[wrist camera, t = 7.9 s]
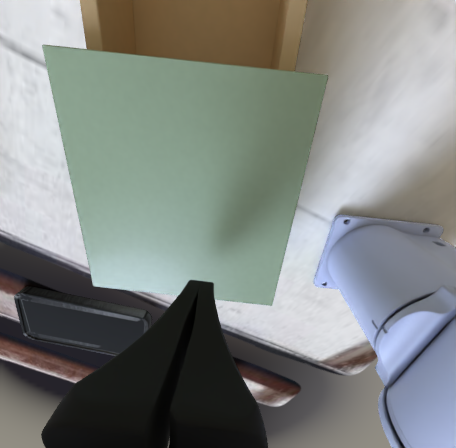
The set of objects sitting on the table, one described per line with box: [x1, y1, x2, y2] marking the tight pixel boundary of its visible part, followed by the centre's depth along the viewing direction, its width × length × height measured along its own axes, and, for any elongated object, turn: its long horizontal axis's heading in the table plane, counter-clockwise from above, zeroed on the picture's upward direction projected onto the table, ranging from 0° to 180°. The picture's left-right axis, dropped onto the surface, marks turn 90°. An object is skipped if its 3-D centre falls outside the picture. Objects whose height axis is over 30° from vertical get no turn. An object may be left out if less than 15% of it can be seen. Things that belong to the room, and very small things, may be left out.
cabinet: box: [42, 45, 328, 306], centre depth 16 cm, size 14×13×7 cm
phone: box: [14, 286, 152, 356], centre depth 27 cm, size 8×1×15 cm
